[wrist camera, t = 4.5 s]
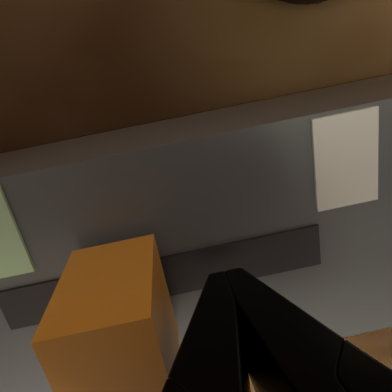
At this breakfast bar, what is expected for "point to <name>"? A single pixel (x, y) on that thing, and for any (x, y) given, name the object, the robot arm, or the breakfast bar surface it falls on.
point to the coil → (303, 1)
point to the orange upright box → (109, 321)
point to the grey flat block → (211, 210)
